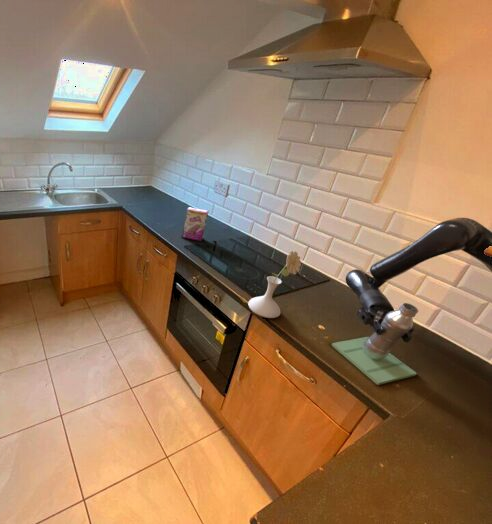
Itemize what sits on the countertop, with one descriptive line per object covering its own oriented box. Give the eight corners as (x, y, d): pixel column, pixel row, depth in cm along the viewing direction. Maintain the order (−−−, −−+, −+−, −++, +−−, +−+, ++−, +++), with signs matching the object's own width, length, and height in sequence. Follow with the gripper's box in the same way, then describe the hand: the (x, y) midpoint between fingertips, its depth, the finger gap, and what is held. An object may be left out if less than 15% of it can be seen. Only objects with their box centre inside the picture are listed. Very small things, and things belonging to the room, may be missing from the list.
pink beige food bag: (181, 237, 165) (186, 209, 157) (183, 234, 169) (188, 206, 162) (201, 241, 163) (208, 213, 155) (202, 238, 167) (208, 210, 159)
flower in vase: (257, 322, 105) (279, 259, 93) (241, 302, 114) (260, 243, 103) (289, 320, 107) (315, 259, 96) (271, 301, 117) (293, 243, 105)
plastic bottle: (362, 358, 92) (402, 312, 80) (356, 342, 97) (393, 296, 86) (385, 365, 91) (429, 319, 79) (378, 349, 96) (418, 303, 85)
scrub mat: (366, 338, 103) (367, 336, 102) (415, 375, 89) (417, 373, 89) (331, 345, 98) (332, 342, 97) (377, 385, 85) (379, 382, 84)
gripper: (356, 289, 100) (371, 318, 86) (406, 301, 96) (431, 333, 82) (346, 307, 103) (360, 338, 89) (394, 320, 100) (416, 353, 86)
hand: (394, 336), depth 86 cm, fingers closed on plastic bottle, 6 cm apart
